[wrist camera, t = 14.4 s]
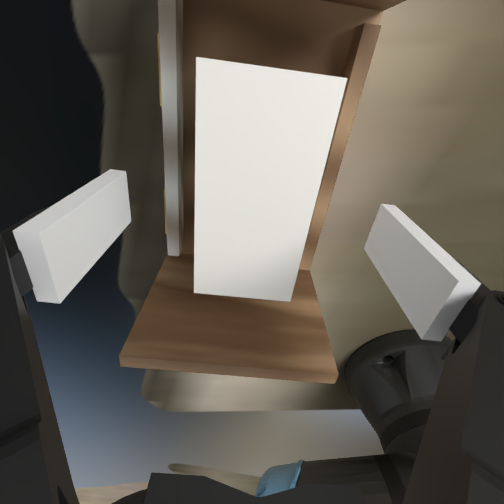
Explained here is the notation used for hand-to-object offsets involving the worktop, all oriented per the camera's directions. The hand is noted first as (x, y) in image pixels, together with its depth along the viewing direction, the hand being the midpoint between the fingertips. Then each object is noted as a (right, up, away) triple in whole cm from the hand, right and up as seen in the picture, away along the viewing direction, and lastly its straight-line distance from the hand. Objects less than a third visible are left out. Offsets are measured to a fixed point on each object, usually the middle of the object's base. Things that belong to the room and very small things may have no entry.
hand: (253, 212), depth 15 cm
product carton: (0, +5, +8) cm, 10 cm away
